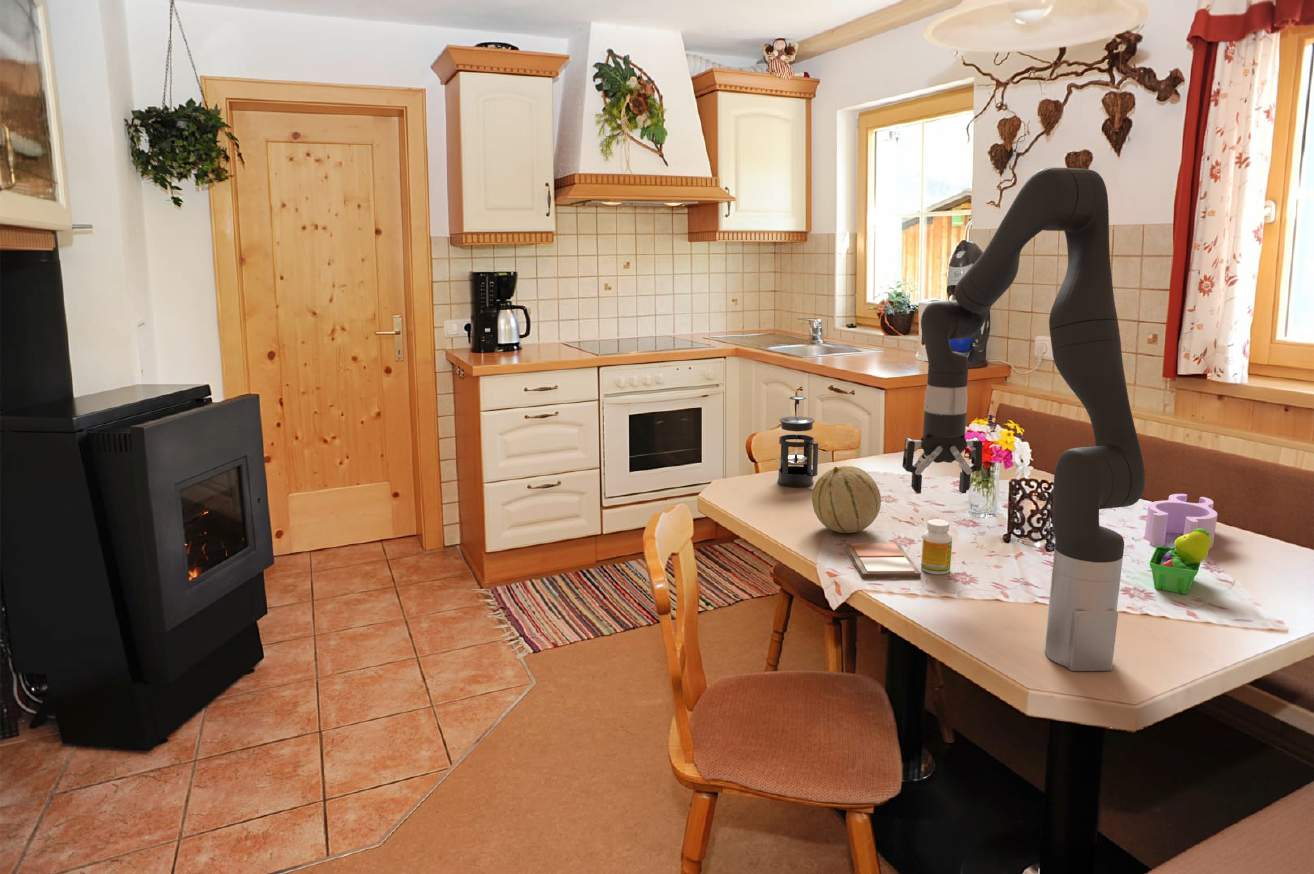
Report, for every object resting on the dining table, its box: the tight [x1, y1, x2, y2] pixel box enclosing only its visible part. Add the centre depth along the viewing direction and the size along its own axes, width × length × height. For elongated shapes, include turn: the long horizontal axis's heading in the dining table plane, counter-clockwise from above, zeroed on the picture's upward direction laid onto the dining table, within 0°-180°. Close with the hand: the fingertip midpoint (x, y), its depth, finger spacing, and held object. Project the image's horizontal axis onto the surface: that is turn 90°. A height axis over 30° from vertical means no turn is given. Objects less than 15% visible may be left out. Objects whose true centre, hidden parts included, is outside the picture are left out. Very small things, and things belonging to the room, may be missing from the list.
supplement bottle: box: [920, 518, 953, 575], centre depth 169 cm, size 5×5×10 cm
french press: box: [777, 395, 819, 489], centre depth 227 cm, size 12×9×23 cm
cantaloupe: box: [811, 465, 882, 534], centre depth 191 cm, size 15×15×15 cm
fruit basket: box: [1149, 528, 1212, 595], centre depth 160 cm, size 11×9×11 cm
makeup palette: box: [845, 542, 922, 579], centre depth 174 cm, size 16×11×1 cm
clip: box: [1144, 493, 1218, 550], centre depth 185 cm, size 20×12×7 cm, turn 139°
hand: (940, 492), depth 166 cm, fingers open, 8 cm apart
